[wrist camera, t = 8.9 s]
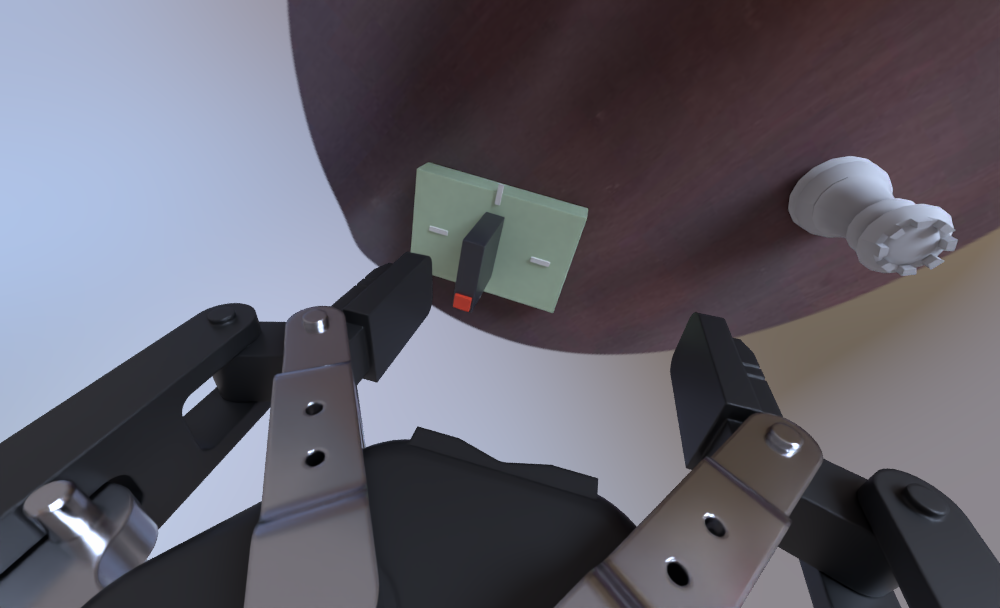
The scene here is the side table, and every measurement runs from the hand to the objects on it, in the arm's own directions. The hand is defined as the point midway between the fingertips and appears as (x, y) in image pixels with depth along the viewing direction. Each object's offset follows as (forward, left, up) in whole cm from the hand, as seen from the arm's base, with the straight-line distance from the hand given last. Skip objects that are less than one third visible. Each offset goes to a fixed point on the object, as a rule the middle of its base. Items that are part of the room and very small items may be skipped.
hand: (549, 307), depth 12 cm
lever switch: (0, +8, -17) cm, 18 cm away
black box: (0, +8, -15) cm, 17 cm away
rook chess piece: (-9, -11, -17) cm, 22 cm away
